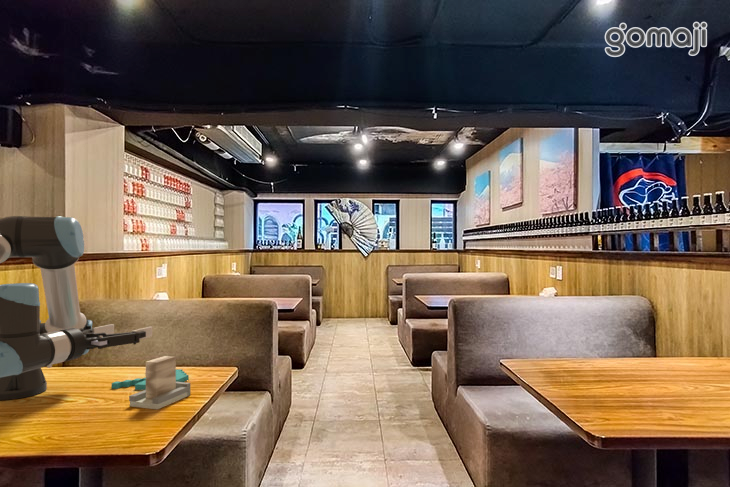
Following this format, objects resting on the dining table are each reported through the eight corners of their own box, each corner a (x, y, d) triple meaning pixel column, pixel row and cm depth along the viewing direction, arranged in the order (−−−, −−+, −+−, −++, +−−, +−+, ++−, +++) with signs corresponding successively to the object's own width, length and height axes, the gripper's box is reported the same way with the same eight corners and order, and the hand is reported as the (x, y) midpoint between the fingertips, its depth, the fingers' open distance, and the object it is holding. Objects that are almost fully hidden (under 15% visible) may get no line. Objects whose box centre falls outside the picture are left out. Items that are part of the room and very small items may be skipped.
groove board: (129, 406, 135) (129, 393, 135) (164, 392, 149) (164, 380, 149) (158, 409, 132) (158, 396, 132) (191, 395, 145) (191, 382, 145)
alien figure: (111, 389, 154) (165, 392, 150) (111, 383, 154) (165, 385, 150) (150, 374, 174) (198, 376, 170) (150, 368, 174) (198, 370, 170)
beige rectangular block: (145, 398, 137) (145, 361, 137) (165, 391, 145) (165, 355, 145) (156, 400, 136) (156, 362, 136) (175, 392, 143) (175, 356, 144)
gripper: (23, 358, 113) (98, 340, 134) (101, 366, 106) (168, 346, 126) (23, 327, 113) (97, 314, 134) (101, 333, 106) (168, 318, 126)
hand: (132, 330), depth 130 cm, fingers open, 13 cm apart
